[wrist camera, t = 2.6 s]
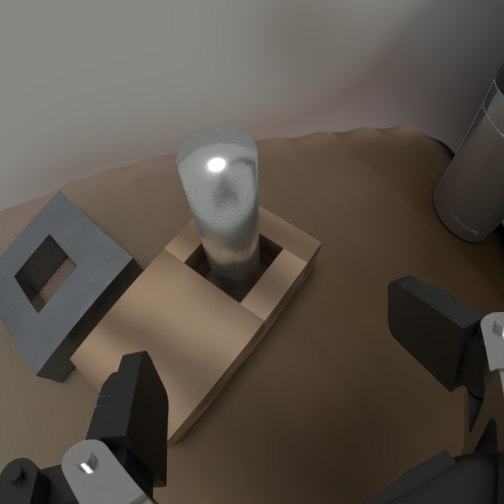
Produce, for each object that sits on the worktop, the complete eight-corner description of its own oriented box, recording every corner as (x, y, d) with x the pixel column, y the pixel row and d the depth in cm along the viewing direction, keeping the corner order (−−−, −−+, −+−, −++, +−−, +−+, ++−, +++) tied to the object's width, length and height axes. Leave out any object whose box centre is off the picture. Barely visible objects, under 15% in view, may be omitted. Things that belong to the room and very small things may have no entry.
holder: (76, 213, 33) (59, 190, 29) (149, 278, 29) (133, 257, 25) (5, 296, 28) (-18, 281, 24) (63, 382, 24) (35, 375, 20)
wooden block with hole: (229, 217, 32) (224, 186, 28) (312, 269, 29) (321, 242, 25) (97, 368, 25) (69, 359, 21) (177, 443, 22) (159, 450, 18)
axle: (234, 253, 30) (212, 118, 16) (268, 276, 29) (273, 145, 15) (207, 284, 29) (160, 162, 15) (242, 309, 28) (221, 197, 13)
